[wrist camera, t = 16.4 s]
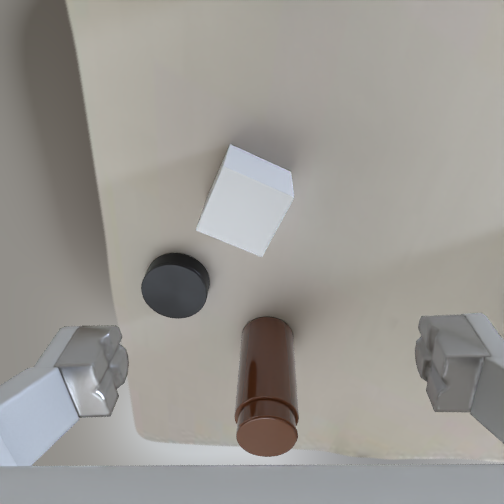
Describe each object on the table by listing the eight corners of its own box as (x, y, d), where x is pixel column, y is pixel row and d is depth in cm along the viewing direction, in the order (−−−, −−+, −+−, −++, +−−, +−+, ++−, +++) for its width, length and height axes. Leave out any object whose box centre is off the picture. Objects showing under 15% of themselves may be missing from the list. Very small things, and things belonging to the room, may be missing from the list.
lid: (135, 263, 43) (129, 276, 41) (193, 244, 42) (189, 256, 40) (164, 311, 46) (160, 325, 44) (219, 295, 45) (217, 308, 43)
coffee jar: (303, 333, 47) (314, 435, 36) (271, 363, 49) (272, 467, 38) (262, 307, 45) (259, 405, 34) (231, 339, 48) (219, 441, 37)
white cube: (229, 143, 37) (223, 165, 31) (291, 171, 38) (294, 197, 32) (205, 201, 39) (195, 230, 34) (263, 226, 40) (261, 257, 35)
